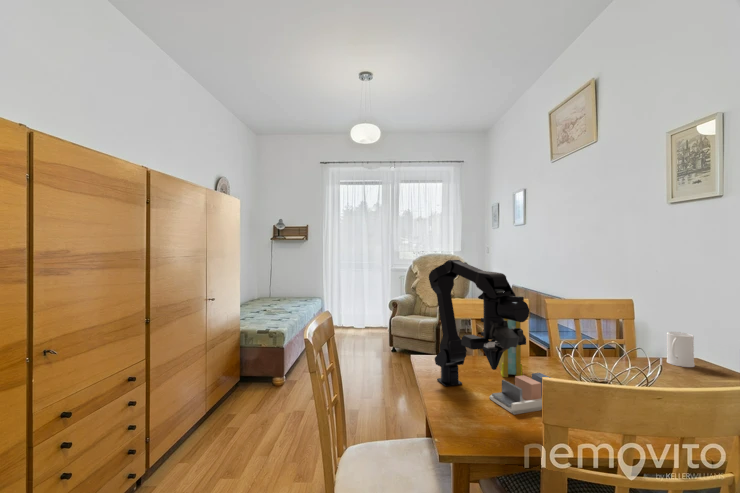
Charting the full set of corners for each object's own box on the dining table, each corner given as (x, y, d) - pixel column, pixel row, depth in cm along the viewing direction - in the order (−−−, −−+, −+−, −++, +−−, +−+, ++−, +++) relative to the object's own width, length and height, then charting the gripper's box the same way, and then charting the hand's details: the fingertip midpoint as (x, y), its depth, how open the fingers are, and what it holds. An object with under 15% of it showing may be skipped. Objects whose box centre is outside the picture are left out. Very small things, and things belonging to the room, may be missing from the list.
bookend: (491, 395, 108) (491, 381, 108) (504, 393, 109) (503, 379, 109) (509, 406, 100) (509, 391, 100) (522, 404, 101) (522, 389, 101)
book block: (515, 394, 109) (514, 376, 109) (524, 392, 110) (524, 375, 110) (531, 403, 103) (531, 384, 103) (541, 402, 104) (541, 383, 104)
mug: (684, 370, 134) (683, 338, 134) (657, 363, 142) (657, 333, 142) (699, 365, 139) (698, 335, 140) (672, 359, 147) (672, 330, 147)
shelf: (489, 398, 108) (489, 377, 108) (539, 391, 114) (539, 371, 114) (514, 414, 98) (513, 391, 98) (568, 405, 103) (567, 383, 104)
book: (522, 378, 126) (521, 308, 126) (502, 376, 127) (501, 307, 127) (512, 363, 142) (512, 301, 143) (495, 362, 144) (495, 301, 144)
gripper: (482, 323, 93) (483, 382, 93) (540, 319, 98) (540, 375, 98) (460, 315, 104) (460, 369, 103) (513, 312, 109) (513, 363, 109)
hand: (494, 369), depth 103 cm, fingers closed
